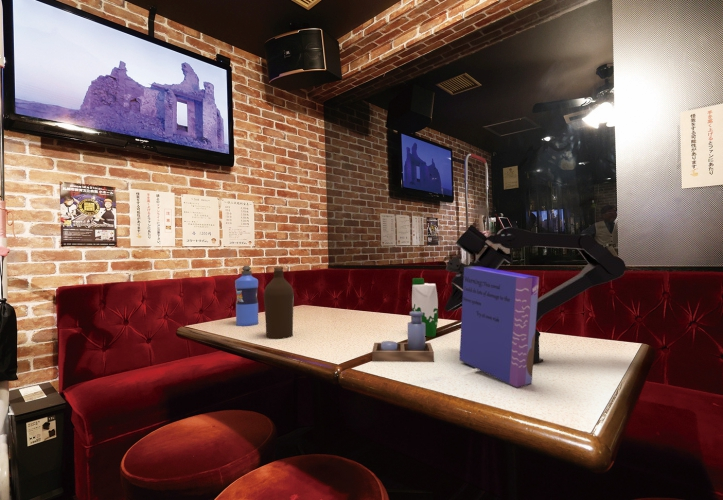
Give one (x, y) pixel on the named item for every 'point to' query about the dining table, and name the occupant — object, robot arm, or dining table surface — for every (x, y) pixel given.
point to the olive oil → (279, 306)
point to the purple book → (499, 323)
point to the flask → (416, 332)
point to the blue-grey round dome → (388, 346)
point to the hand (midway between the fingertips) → (448, 310)
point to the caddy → (403, 354)
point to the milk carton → (426, 304)
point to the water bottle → (246, 299)
